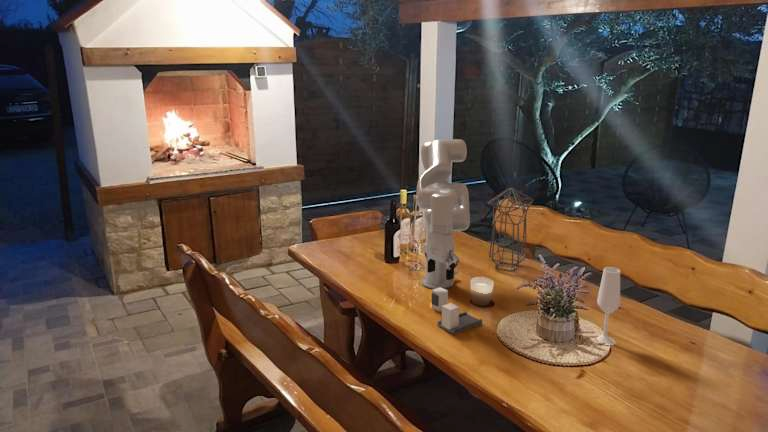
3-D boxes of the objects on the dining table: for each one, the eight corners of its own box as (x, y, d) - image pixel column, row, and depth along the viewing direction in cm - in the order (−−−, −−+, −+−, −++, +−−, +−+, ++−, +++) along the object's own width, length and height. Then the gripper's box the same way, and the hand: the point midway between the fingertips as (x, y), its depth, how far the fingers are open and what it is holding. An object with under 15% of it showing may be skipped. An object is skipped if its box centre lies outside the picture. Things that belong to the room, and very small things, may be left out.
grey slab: (465, 315, 202) (465, 311, 202) (482, 323, 196) (482, 319, 195) (437, 325, 195) (437, 321, 194) (453, 334, 188) (453, 330, 188)
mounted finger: (451, 321, 195) (452, 302, 194) (459, 325, 192) (460, 306, 190) (441, 325, 193) (441, 305, 191) (449, 329, 190) (450, 309, 188)
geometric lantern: (530, 265, 250) (536, 186, 240) (517, 277, 237) (523, 195, 227) (496, 258, 258) (500, 181, 248) (482, 269, 245) (485, 189, 235)
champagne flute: (615, 337, 186) (623, 267, 179) (616, 347, 180) (624, 274, 173) (593, 334, 188) (600, 265, 181) (593, 344, 182) (600, 272, 175)
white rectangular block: (440, 305, 211) (440, 287, 209) (447, 308, 208) (448, 290, 206) (430, 308, 208) (430, 290, 206) (437, 312, 205) (438, 293, 203)
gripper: (416, 225, 204) (416, 271, 209) (450, 235, 191) (449, 284, 195) (432, 221, 209) (432, 266, 213) (466, 232, 195) (465, 280, 199)
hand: (440, 275), depth 204 cm, fingers open, 9 cm apart
